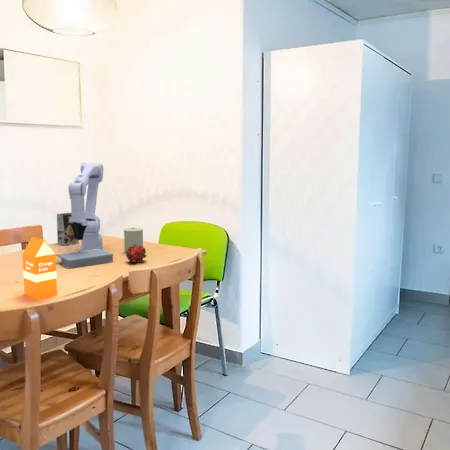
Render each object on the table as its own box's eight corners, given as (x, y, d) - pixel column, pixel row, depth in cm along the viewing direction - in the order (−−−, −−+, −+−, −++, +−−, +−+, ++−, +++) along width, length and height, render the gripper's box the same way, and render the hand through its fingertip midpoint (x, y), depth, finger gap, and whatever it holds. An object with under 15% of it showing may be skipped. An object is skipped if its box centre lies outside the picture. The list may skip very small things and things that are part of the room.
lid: (99, 250, 230) (99, 244, 229) (113, 255, 219) (113, 249, 219) (56, 255, 217) (56, 249, 217) (68, 261, 206) (68, 255, 206)
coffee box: (65, 246, 252) (64, 214, 250) (57, 244, 256) (56, 213, 253) (79, 243, 260) (78, 213, 257) (71, 241, 263) (70, 212, 261)
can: (141, 250, 245) (141, 226, 243) (144, 254, 236) (144, 229, 234) (123, 251, 242) (122, 227, 240) (125, 255, 233) (124, 230, 232)
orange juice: (36, 299, 166) (33, 241, 163) (24, 294, 172) (21, 237, 168) (57, 294, 172) (55, 238, 168) (45, 289, 177) (42, 235, 174)
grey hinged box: (103, 258, 227) (103, 251, 226) (112, 261, 220) (112, 255, 219) (61, 264, 214) (61, 257, 213) (69, 268, 207) (69, 261, 207)
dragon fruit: (143, 262, 227) (133, 272, 215) (128, 251, 227) (117, 260, 215) (152, 248, 223) (142, 258, 212) (137, 237, 223) (127, 246, 212)
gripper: (62, 208, 222) (64, 237, 225) (75, 212, 211) (77, 242, 214) (77, 207, 227) (78, 236, 229) (91, 210, 216) (92, 241, 218)
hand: (79, 239), depth 222 cm, fingers closed
